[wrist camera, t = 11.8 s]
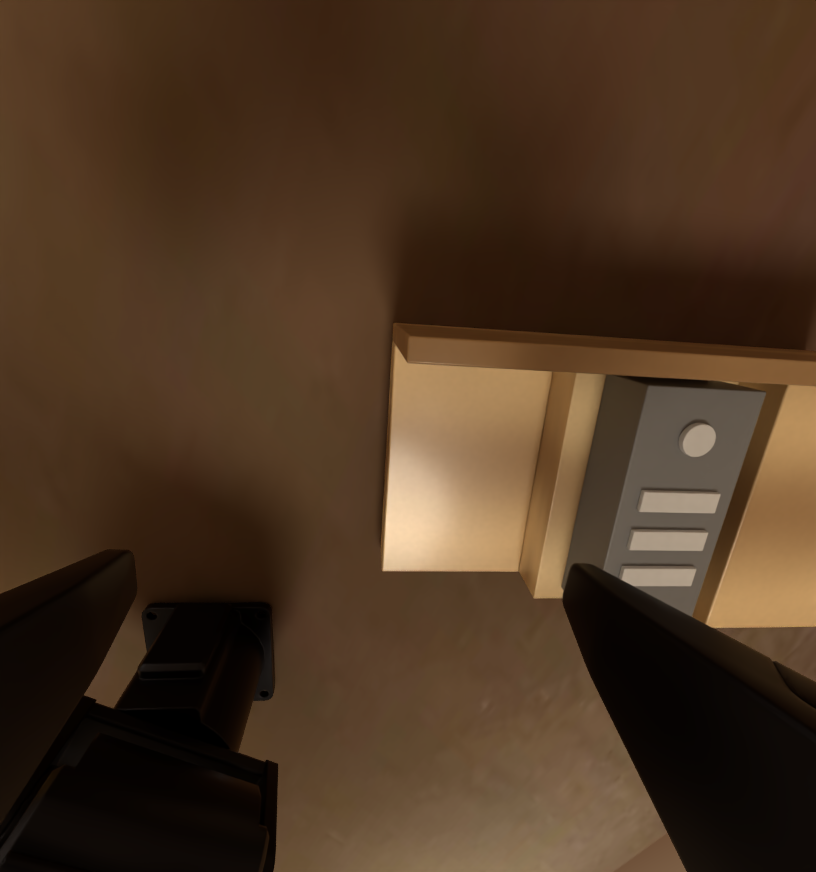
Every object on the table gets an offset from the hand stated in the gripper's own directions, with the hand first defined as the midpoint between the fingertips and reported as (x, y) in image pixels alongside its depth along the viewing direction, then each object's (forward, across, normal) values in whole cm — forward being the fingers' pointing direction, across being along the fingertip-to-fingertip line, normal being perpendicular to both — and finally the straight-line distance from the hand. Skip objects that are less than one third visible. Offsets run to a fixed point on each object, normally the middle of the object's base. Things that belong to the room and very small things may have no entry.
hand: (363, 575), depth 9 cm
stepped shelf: (+12, -12, +1) cm, 17 cm away
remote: (+8, -12, +1) cm, 14 cm away
